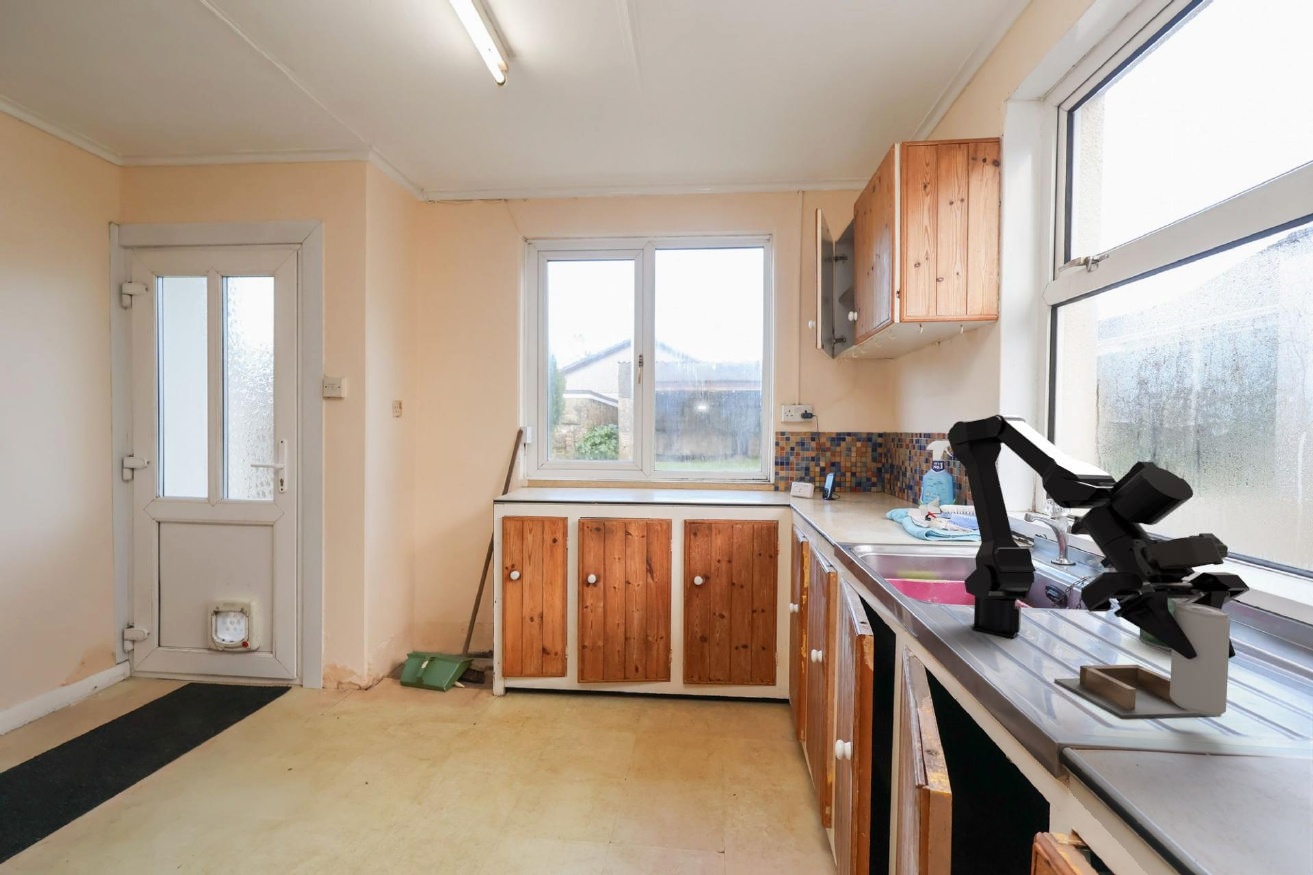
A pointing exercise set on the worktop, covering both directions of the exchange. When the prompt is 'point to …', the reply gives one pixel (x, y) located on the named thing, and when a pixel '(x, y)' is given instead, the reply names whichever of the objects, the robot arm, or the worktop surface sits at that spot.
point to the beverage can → (1201, 660)
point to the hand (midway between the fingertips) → (1212, 657)
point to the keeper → (1126, 691)
